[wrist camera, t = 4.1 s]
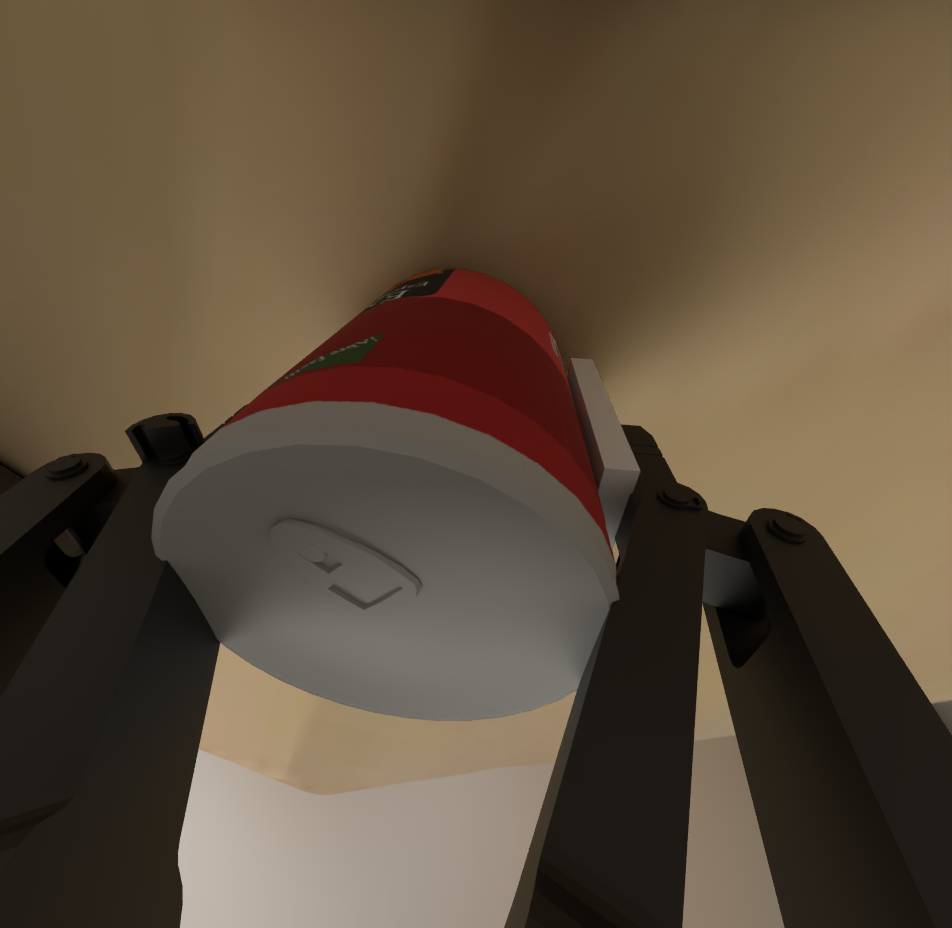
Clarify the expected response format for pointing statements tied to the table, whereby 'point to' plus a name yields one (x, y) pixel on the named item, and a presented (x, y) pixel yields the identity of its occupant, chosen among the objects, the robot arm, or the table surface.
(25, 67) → the table surface
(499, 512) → the canned food
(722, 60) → the table surface
